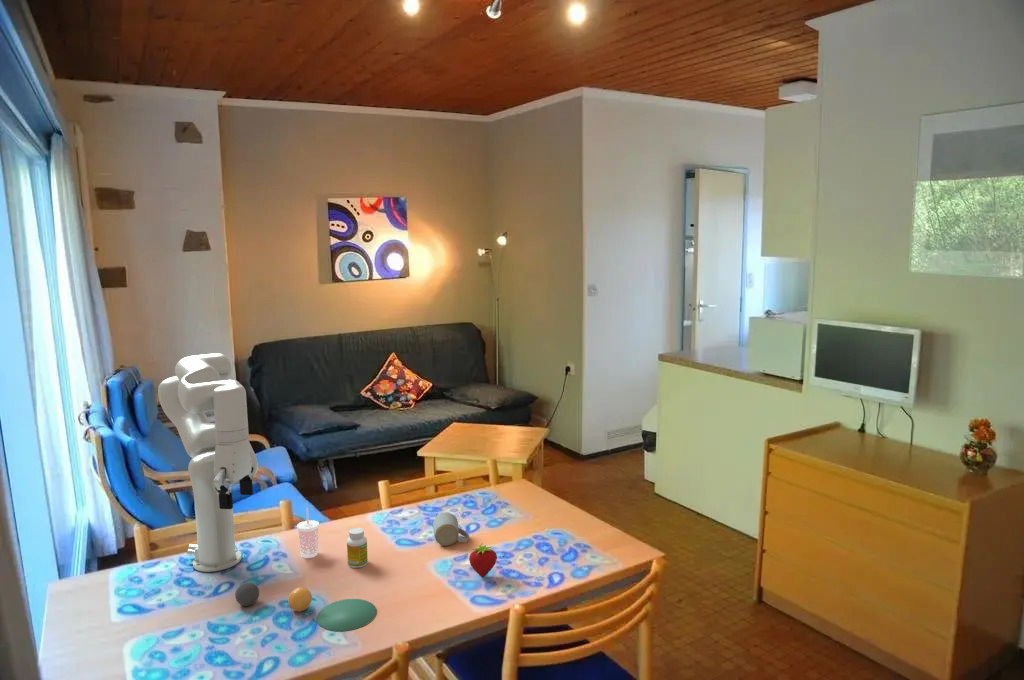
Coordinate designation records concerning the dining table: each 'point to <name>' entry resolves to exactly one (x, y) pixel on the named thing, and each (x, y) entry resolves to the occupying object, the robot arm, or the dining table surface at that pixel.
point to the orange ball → (299, 599)
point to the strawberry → (482, 560)
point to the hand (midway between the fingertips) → (236, 501)
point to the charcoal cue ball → (247, 593)
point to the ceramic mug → (448, 530)
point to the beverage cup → (308, 537)
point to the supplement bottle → (357, 548)
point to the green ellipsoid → (346, 615)
